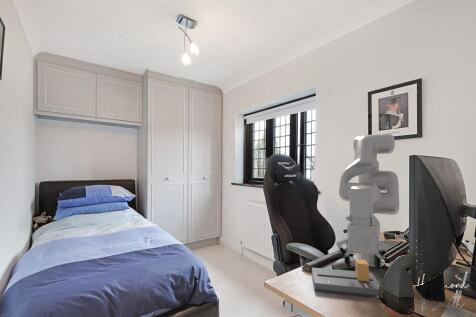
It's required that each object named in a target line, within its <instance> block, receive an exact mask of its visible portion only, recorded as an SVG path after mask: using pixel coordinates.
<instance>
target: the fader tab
mask: <svg viewBox="0 0 476 317" xmlns="http://www.w3.org/2000/svg"><path fill="white" fill-rule="evenodd" d="M354 265H355V267H354V268H355V270H354V271H355V275H356V277H357V279H358V281H367V282H369V272H370V267H369V264H368V263H367V261H366V260H360V259H355V261H354Z"/></svg>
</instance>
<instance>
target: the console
mask: <svg viewBox="0 0 476 317" xmlns="http://www.w3.org/2000/svg"><path fill="white" fill-rule="evenodd" d="M311 277H312V283H313V290H314V292H316V293H317V292H318V293H327V294H335V295H346V296H353V297H354V296H355V297H362V296H363V297H364V298H371V297H377V295H378V291H379V287H380V285H381V284H380V282H379V281H378V279H377V278H376V277H375V275H374V274H373V272H370V271H369V282H367V281H358V279H357V277H356V275H355V270H343V269H333V268H324V267H323V268H320V267H311ZM363 297H362V298H363Z"/></svg>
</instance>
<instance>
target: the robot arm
mask: <svg viewBox="0 0 476 317" xmlns="http://www.w3.org/2000/svg"><path fill="white" fill-rule="evenodd" d="M395 143H396V142H395V137H394V135H393V134H392V133H382V134H381V133H379V134H378V133H377V134H365V135H360V136H356V137H355V138H354V139H353V143H352V144H353V150H354V162H352V163H351V164H350V165H349V166H347V167H346V168H345V170H344V171H343V172H342V173H341V176H340V180H339V186H338V188H339V189H338V193H339V197H340V199H341V200H343V201H345V202H349V215H348V216H345V221H347V228H346V236H345V238H343V239H341V240H338V241H336V246H337V248H338V250H339V251H340V252H341V253H342V254H343V255H344V264H345V265H346V266H347V268H350V267H351V257H350V254H351V253H354V254H353V255H352V259H353V261H354V262H355V259H360V260H366V261H367V263H368V264H369V268H370V267H371V268H376V269H377V270H380V267H384V266H385V263H386V261H385V260H384V258H383V256H384V255H385V254H387V252H388V250H389V248H390V245H388V244H387V243H384V242H383V241H381V224H380V220H379V219H378V218H377V217H376V216H375V214H376V215H386V216H387V215H389V216H395V215H397V214H398V213H399V210H400V188H399V187H400V186H399V178H398V177H399V176H398V175H397V173H396V172H394V171H393V170H380V163H379V161H378V155H380V154H381V155H382V154H383V155H385V154H392V153H393V152H394V150H395V145H396V144H395ZM355 177H358V181H357V182H350V181H351V180H352V179H353V178H355ZM343 245H346V247H345V248H343V247H342V246H343ZM381 258H382V259H381Z"/></svg>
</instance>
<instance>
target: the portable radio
mask: <svg viewBox="0 0 476 317" xmlns="http://www.w3.org/2000/svg"><path fill="white" fill-rule="evenodd" d="M444 274H445V273H444V270H443V272H442V273H441V274H439V275H438V276H436V277H435V278H433V279H431V280H430V281H428V282H425V283H424V284H423V285H419V286H415V285H414V289H415V290H416V291H417V293H419V294H420V296H422V298H423V299H425V300H429V301H430V300H431V301H440V302H445V300H446V289H445V276H444Z"/></svg>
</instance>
